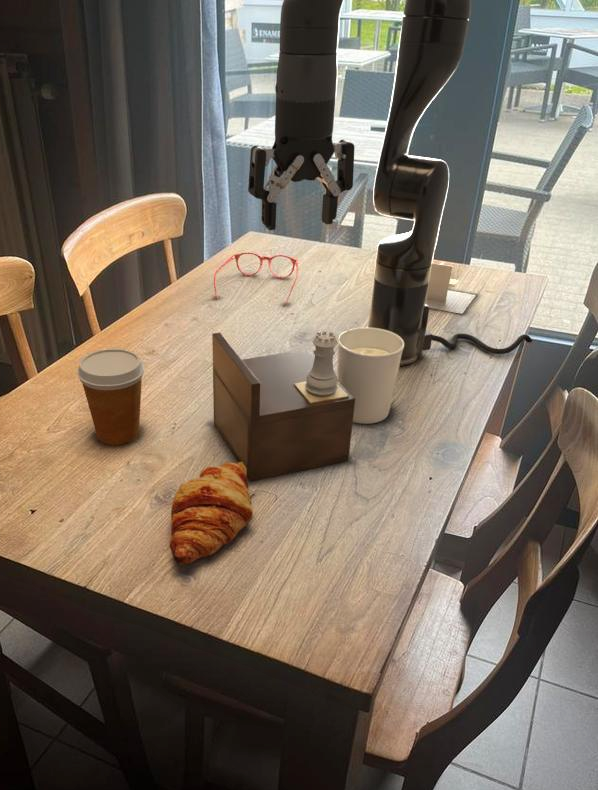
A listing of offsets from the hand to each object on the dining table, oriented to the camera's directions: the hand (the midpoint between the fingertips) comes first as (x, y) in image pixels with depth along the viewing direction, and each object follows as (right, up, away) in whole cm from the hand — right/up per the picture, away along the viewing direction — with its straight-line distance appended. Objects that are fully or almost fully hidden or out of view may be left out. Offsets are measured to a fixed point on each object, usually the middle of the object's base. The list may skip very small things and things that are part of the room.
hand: (299, 225), depth 100 cm
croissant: (-11, -41, -8) cm, 43 cm away
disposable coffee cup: (-26, -28, +9) cm, 40 cm away
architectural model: (+33, +4, +53) cm, 62 cm away
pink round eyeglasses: (-4, +7, +57) cm, 57 cm away
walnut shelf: (-2, -29, +7) cm, 30 cm away
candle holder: (+11, -24, +15) cm, 31 cm away
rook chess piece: (+3, -23, -1) cm, 23 cm away
